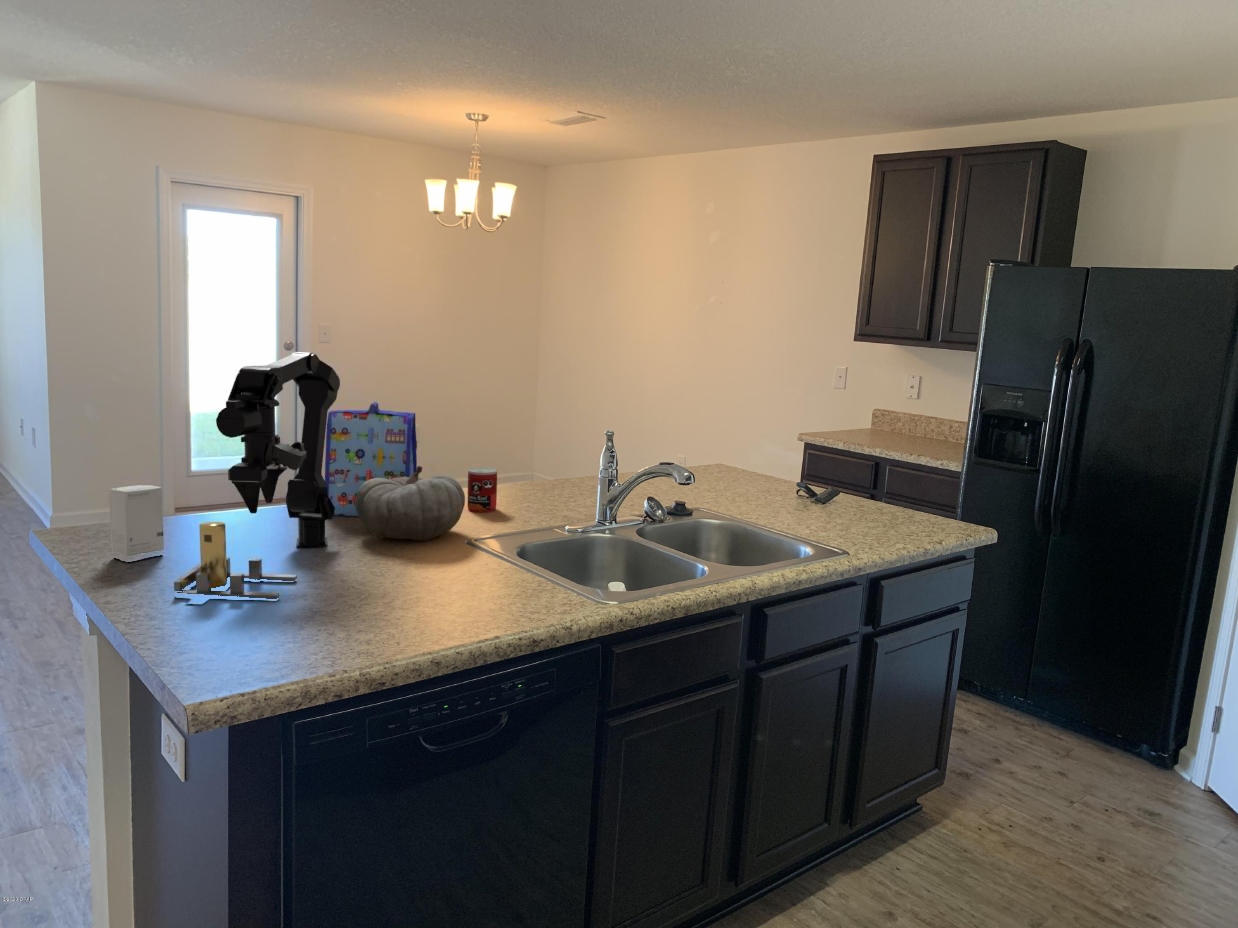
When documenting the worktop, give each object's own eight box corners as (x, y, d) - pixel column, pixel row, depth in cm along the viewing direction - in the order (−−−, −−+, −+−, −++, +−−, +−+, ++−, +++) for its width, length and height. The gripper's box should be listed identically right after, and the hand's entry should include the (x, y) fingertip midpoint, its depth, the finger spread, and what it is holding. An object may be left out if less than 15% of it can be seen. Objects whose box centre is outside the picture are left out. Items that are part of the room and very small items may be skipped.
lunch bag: (417, 507, 241) (419, 401, 236) (407, 519, 228) (408, 407, 222) (336, 504, 240) (336, 397, 235) (321, 516, 227) (320, 403, 222)
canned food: (462, 510, 240) (463, 470, 238) (475, 505, 247) (476, 466, 245) (488, 514, 238) (489, 473, 236) (500, 508, 245) (501, 468, 243)
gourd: (457, 541, 199) (447, 464, 198) (347, 554, 200) (336, 478, 199) (476, 526, 224) (467, 457, 223) (378, 537, 225) (368, 469, 223)
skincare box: (127, 564, 180) (124, 492, 178) (110, 558, 183) (106, 488, 181) (166, 555, 188) (163, 486, 185) (148, 550, 191) (145, 482, 188)
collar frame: (200, 577, 174) (199, 555, 173) (297, 580, 175) (296, 558, 175) (165, 604, 159) (164, 580, 158) (271, 607, 160) (270, 583, 159)
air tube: (206, 584, 171) (204, 520, 169) (232, 585, 171) (231, 521, 169) (195, 592, 166) (193, 527, 164) (223, 593, 166) (221, 528, 164)
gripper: (286, 439, 167) (288, 520, 170) (314, 426, 186) (315, 499, 188) (225, 437, 167) (228, 518, 169) (259, 423, 185) (261, 497, 188)
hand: (261, 507), depth 179 cm, fingers open, 9 cm apart
